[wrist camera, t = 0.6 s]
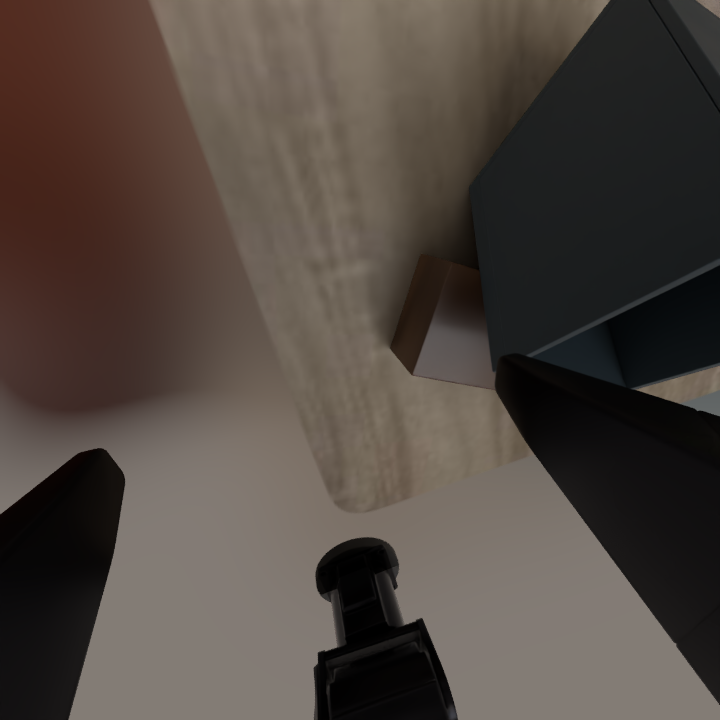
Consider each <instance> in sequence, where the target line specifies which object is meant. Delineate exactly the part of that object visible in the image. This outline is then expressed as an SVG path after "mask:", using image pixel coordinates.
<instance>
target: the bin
mask: <svg viewBox="0 0 720 720" xmlns="http://www.w3.org/2000/svg"><path fill="white" fill-rule="evenodd" d="M469 192H470V200H471V208H472V215H473V223H474V231H475V239H476V247H477V255H478V262H479V270H480V278H481V286H482V294H483V302H484V310H485V317H486V325H487V333H488V341H489V349H490V357H491V364H492V371H493V372H494V373H496V368H497V362H498V359H499V358H500V357H501V356H503V355H507V354H512V353H519V354H522V355H525V356H528V357H532V358H535V359H538V360H541V361H544V362H547V363H551V364H554V365H557V366H560V367H563V368H567V369H570V370H573V371H576V372H579V373H583V374H586V375H589V376H592V377H595V378H598V379H602V380H605V381H608V382H611V383H614V384H618V385H621V386H624V387H627V388H630V389H633V390H635V389H639V388H642V387H646V386H649V385H653V384H656V383H660V382H663V381H667V380H670V379H674V378H678V377H681V376H685V375H688V374H692V373H695V372H699V371H702V370H706V369H709V368H713V367H716V366H720V18H719V17H717V16H716V15H715V14H713V13H712V12H711V11H709V10H708V9H707V8H705V7H704V6H702V5H701V4H700V3H698V2H697V1H696V0H610V1H609V3H608V4H607V5H606V7H605V8H604V9H603V11H602V12H601V13H600V14H599V16H598V17H597V18H596V20H595V21H594V22H593V24H592V25H591V26H590V28H589V29H588V30H587V32H586V33H585V34H584V36H583V37H582V38H581V40H580V41H579V42H578V44H577V45H576V46H575V47H574V49H573V50H572V51H571V53H570V54H569V55H568V57H567V58H566V59H565V61H564V62H563V63H562V65H561V66H560V67H559V69H558V70H557V71H556V73H555V74H554V75H553V76H552V78H551V79H550V80H549V82H548V83H547V84H546V86H545V87H544V88H543V90H542V91H541V92H540V94H539V95H538V96H537V98H536V99H535V100H534V102H533V103H532V104H531V106H530V107H529V108H528V109H527V111H526V112H525V113H524V115H523V116H522V117H521V119H520V120H519V121H518V123H517V124H516V125H515V127H514V128H513V129H512V131H511V132H510V133H509V135H508V136H507V137H506V139H505V140H504V141H503V142H502V144H501V145H500V146H499V148H498V149H497V150H496V152H495V153H494V154H493V156H492V157H491V158H490V160H489V161H488V162H487V164H486V165H485V166H484V168H483V169H482V170H481V172H480V173H479V175H478V176H477V177H476V178H475V180H474V181H473V182H472V184H471V185H470V186H469Z"/></svg>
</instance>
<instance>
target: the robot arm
mask: <svg viewBox="0 0 720 720" xmlns="http://www.w3.org/2000/svg"><path fill="white" fill-rule="evenodd" d="M494 385H495V390H496V392H497V394H498V396H499V398H500V399H501V401H502V403H503V404H504V406H505V408H506V409H507V411H508V413H509V415H510V416H511V418H512V420H513V421H514V423H515V425H516V426H517V428H518V430H519V432H520V433H521V435H522V437H523V438H524V440H525V441H526V443H527V444H528V446H529V447H530V449H531V450H532V451H533V453H534V454H535V455H536V457H537V458H538V459H539V461H540V462H541V464H542V465H543V466H544V468H545V469H546V470H547V472H548V473H549V474H550V475H551V477H552V478H553V480H554V481H555V482H556V484H557V485H558V486H559V488H560V489H561V490H562V492H563V493H564V495H565V496H566V497H567V499H568V500H569V501H570V503H571V504H572V505H573V507H574V508H575V509H576V511H577V512H578V514H579V515H580V516H581V518H582V519H583V520H584V522H585V523H586V524H587V526H588V527H589V528H590V530H591V531H592V532H593V534H594V535H595V536H596V538H597V539H598V540H599V542H600V543H601V544H602V546H603V547H604V549H605V550H606V551H607V553H608V554H609V555H610V557H611V558H612V559H613V561H614V562H615V564H616V565H617V566H618V568H619V569H620V570H621V572H622V573H623V574H624V575H625V577H626V578H627V580H628V581H629V582H630V584H631V585H632V587H633V588H634V589H635V590H636V592H637V593H638V594H639V596H640V597H641V599H642V600H643V601H644V603H645V604H646V605H647V607H648V608H649V609H650V611H651V612H652V614H653V615H654V616H655V618H656V619H657V620H658V622H659V623H660V624H661V626H662V627H663V628H664V630H665V631H666V632H667V634H668V635H669V636H670V638H671V639H672V641H673V642H674V643H676V646H677V648H678V649H679V650H680V652H681V653H682V655H683V656H684V657H685V658H686V660H687V661H688V663H689V664H690V665H691V667H692V668H693V669H694V671H695V672H696V674H697V675H698V676H699V678H700V679H701V680H702V682H703V683H704V684H705V686H706V687H707V688H708V690H709V691H710V692H711V694H712V695H713V696H714V698H715V699H716V701H717V702H718V703H719V705H720V416H717V415H713V414H710V413H707V412H704V411H697V410H695V409H694V408H690V407H688V406H684V405H681V404H678V403H675V402H672V401H669V400H665V399H662V398H659V397H656V396H653V395H649V394H646V393H643V392H640V391H637V390H633V389H630V388H627V387H624V386H621V385H618V384H614V383H611V382H608V381H605V380H602V379H598V378H595V377H592V376H589V375H586V374H583V373H579V372H576V371H573V370H570V369H567V368H563V367H560V366H557V365H554V364H551V363H547V362H544V361H541V360H538V359H535V358H532V357H528V356H525V355H522V354H519V353H512V354H507V355H503V356H501V357H500V358H499V359H498V362H497V368H496V375H495V382H494ZM124 487H125V478H124V474H123V472H122V470H121V469H120V468H119V467H118V465H117V464H116V462H115V461H114V460H113V459H112V457H111V456H110V455H109V453H108V452H107V451H106V450H104V449H102V448H97V449H93V450H88V451H84V452H81V453H78V454H77V455H75V456H74V457H73V458H72V459H70V460H69V461H68V462H66V463H65V464H64V465H63V466H61V467H60V468H59V469H58V470H56V471H55V472H54V473H52V474H51V475H50V476H49V477H48V478H46V479H45V480H44V481H42V482H41V483H40V484H38V485H37V486H36V487H35V488H33V489H32V490H31V491H30V492H28V493H27V494H26V495H24V496H23V497H22V498H21V499H19V500H18V501H17V502H16V503H14V504H13V505H12V506H11V507H9V508H8V509H7V510H5V511H4V512H3V513H2V514H0V720H68V719H69V716H70V712H71V708H72V705H73V701H74V697H75V694H76V690H77V686H78V683H79V679H80V676H81V672H82V668H83V665H84V661H85V657H86V654H87V650H88V646H89V643H90V639H91V635H92V632H93V628H94V624H95V621H96V617H97V614H98V609H99V606H100V602H101V599H102V595H103V592H104V587H105V584H106V581H107V577H108V573H109V569H110V566H111V562H112V558H113V554H114V549H115V543H116V537H117V531H118V525H119V518H120V512H121V505H122V500H123V493H124ZM317 571H318V577H319V579H320V581H321V583H322V585H323V587H324V589H325V591H326V593H327V595H328V597H329V599H330V601H331V603H332V609H333V617H334V625H335V633H336V641H337V648H334V649H331V650H328V651H325V650H324V651H321V652H318V664H317V665H316V666H315V667H314V678H315V679H314V680H315V712H314V720H458V718H457V713H456V709H455V705H454V701H453V697H452V694H451V691H450V687H449V684H448V682H447V678H446V676H445V673H444V670H443V667H442V665H441V662H440V660H439V658H438V655H437V653H436V650H435V648H434V645H433V643H432V641H431V638H430V636H429V633H428V631H427V628H426V626H425V624H424V621H423V619H422V618H420V619H417V620H416V621H415V622H412V623H409V624H406V625H404V621H403V618H402V615H401V611H400V608H399V605H398V601H397V598H396V595H395V592H394V590H395V589H396V588H397V586H398V585H397V582H396V579H395V576H394V573H393V570H392V567H391V564H390V561H389V558H388V555H387V552H386V548H385V546H384V545H377V546H375V547H372V548H369V549H367V550H364V551H361V552H359V553H356V554H353V555H351V556H348V557H345V558H343V559H340V560H337V561H335V562H332V563H329V564H327V565H324V566H321V567H319V568H318V570H317Z"/></svg>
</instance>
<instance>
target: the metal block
mask: <svg viewBox="0 0 720 720" xmlns="http://www.w3.org/2000/svg"><path fill="white" fill-rule="evenodd" d="M390 349H391V350H392V352H393V353H394V354H395V355H396V356H397V358H398V359H399V360H400V361H401V363H402V364H403V365H404V366H405V368H406V369H407V370H408V371H409V372H410V374H411V375H413V376H419V377H424V378H430V379H436V380H441V381H447V382H452V383H458V384H464V385H469V386H475V387H481V388H486V389H492V390H495V385H494V382H495V375H496V373H494V372H493V371H492V364H491V357H490V349H489V341H488V333H487V325H486V317H485V310H484V302H483V294H482V286H481V278H480V270H478V269H474V268H471V267H468V266H464V265H461V264H458V263H454V262H451V261H447V260H443V259H440V258H436V257H433V256H429V255H425V254H421V255H420V258H419V261H418V264H417V267H416V270H415V273H414V276H413V279H412V282H411V285H410V289H409V292H408V295H407V298H406V301H405V304H404V307H403V310H402V313H401V316H400V319H399V323H398V326H397V329H396V332H395V335H394V338H393V341H392V344H391V347H390Z"/></svg>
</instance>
